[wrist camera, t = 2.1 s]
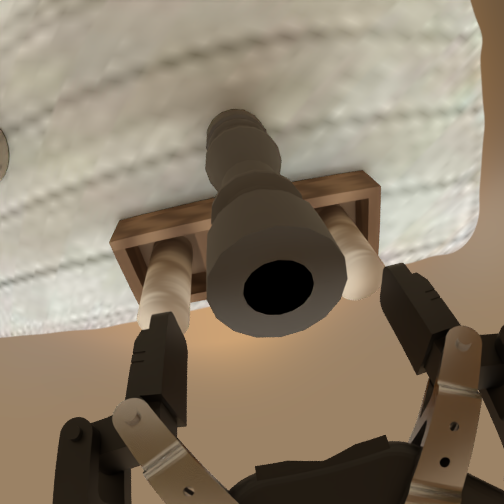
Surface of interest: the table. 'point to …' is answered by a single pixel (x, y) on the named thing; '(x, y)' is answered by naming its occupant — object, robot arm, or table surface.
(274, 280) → the candle holder
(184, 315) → the wooden candle tray
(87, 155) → the table surface
